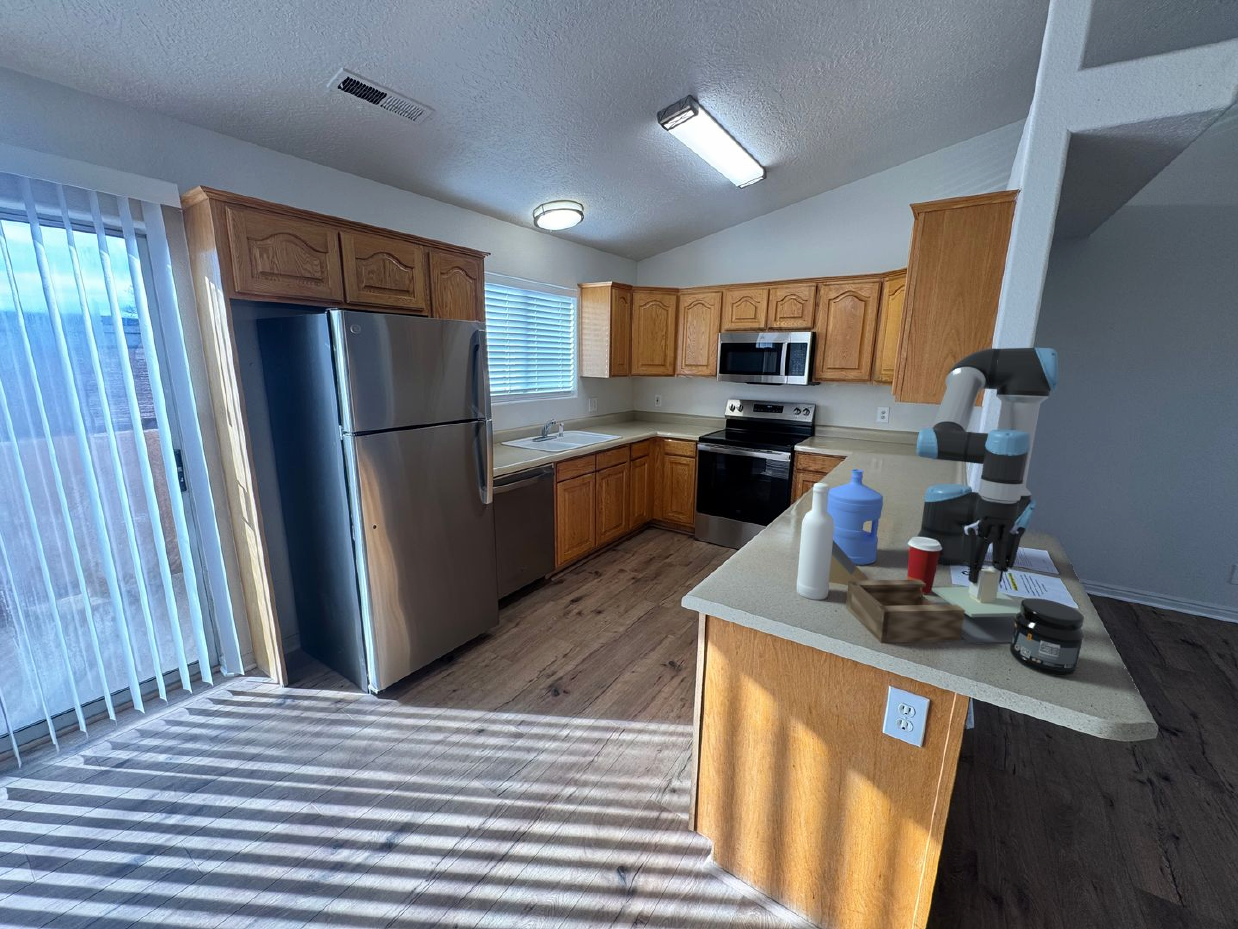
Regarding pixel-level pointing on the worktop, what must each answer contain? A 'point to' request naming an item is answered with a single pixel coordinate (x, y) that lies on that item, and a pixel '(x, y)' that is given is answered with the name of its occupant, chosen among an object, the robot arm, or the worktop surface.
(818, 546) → the bottle
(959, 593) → the cover plate
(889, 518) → the worktop surface
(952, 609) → the walnut box
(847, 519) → the water jug
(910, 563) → the paper cup
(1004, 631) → the charcoal mat
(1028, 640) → the supplement container
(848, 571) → the sandwich container
